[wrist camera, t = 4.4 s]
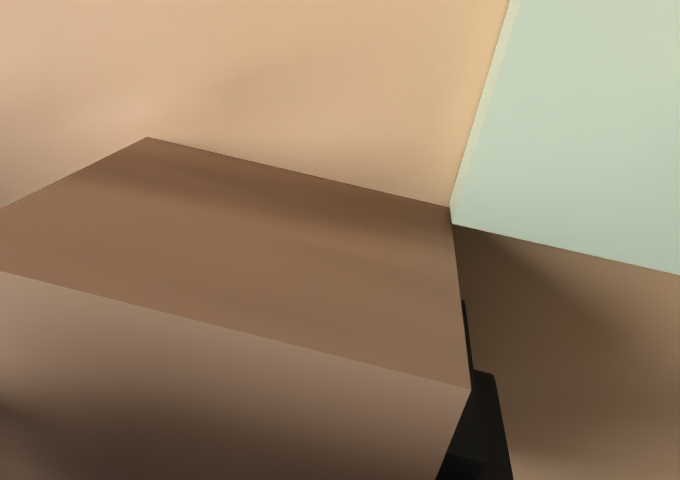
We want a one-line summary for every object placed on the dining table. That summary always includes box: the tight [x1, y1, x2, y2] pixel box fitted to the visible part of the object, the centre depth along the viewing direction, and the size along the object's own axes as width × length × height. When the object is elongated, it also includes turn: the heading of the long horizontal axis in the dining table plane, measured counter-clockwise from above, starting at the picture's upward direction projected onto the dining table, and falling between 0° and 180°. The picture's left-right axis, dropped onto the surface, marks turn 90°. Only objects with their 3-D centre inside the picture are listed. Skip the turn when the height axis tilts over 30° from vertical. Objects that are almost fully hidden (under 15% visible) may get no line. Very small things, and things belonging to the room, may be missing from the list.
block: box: [0, 137, 471, 480], centre depth 9 cm, size 6×6×5 cm
